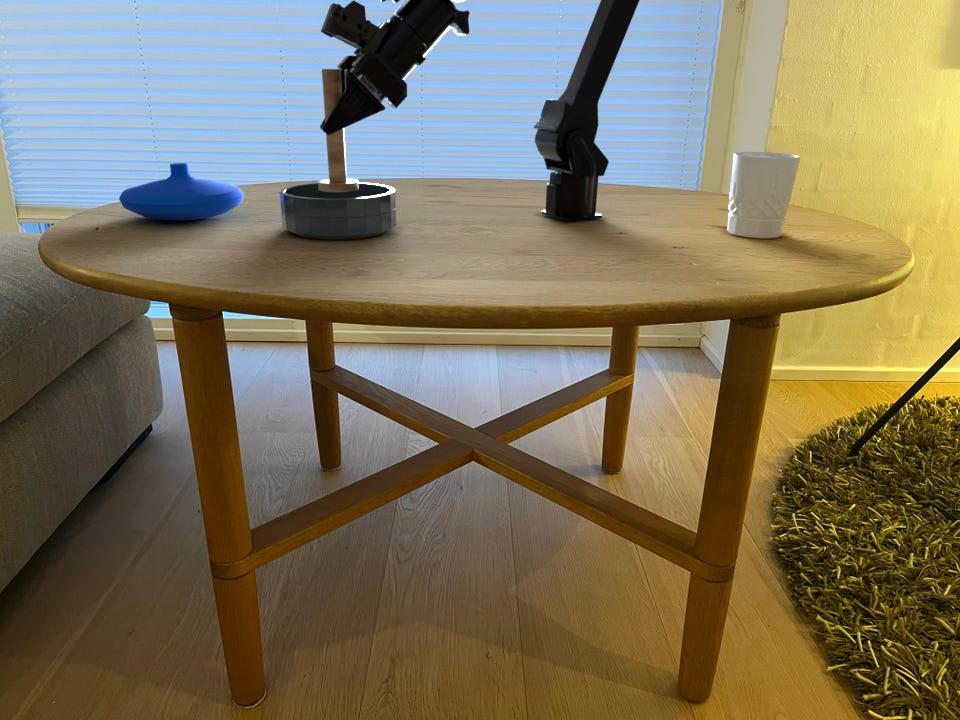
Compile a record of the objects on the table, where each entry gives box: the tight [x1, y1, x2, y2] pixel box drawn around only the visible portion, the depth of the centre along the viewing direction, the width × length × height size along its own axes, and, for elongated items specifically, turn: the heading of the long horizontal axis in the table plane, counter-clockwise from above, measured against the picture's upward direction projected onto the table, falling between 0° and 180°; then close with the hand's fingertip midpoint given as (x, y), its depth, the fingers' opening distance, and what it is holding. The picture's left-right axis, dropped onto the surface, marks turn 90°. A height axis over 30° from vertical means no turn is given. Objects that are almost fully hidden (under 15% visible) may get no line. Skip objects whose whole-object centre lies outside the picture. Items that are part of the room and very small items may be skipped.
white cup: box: [726, 151, 801, 240], centre depth 90 cm, size 8×8×10 cm
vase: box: [118, 162, 245, 222], centre depth 94 cm, size 16×16×7 cm
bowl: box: [279, 182, 397, 241], centre depth 89 cm, size 14×14×5 cm
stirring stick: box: [317, 68, 359, 192], centre depth 85 cm, size 5×5×14 cm
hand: (323, 131), depth 85 cm, fingers closed on stirring stick, 2 cm apart
